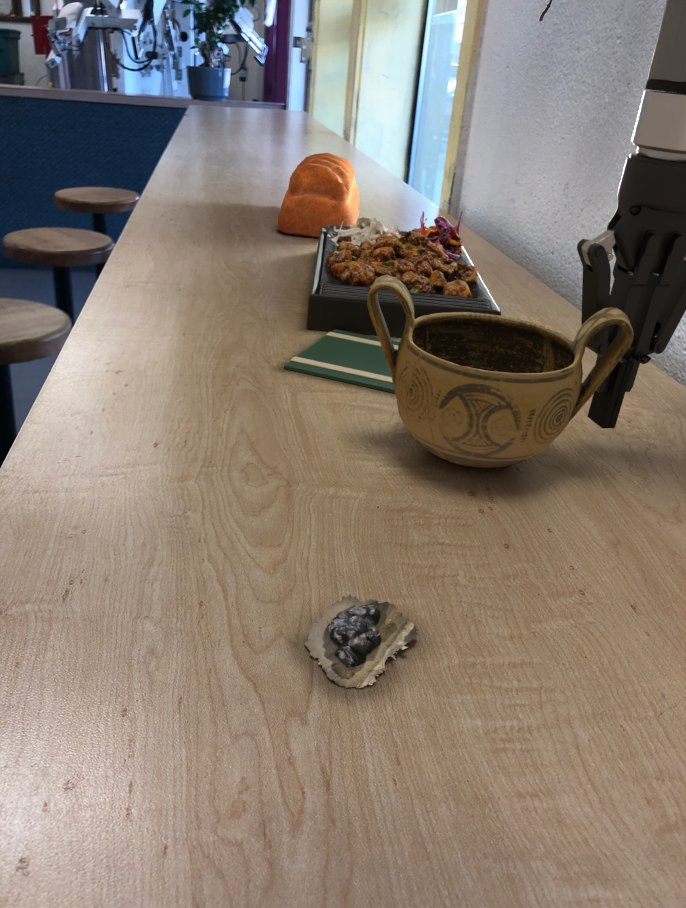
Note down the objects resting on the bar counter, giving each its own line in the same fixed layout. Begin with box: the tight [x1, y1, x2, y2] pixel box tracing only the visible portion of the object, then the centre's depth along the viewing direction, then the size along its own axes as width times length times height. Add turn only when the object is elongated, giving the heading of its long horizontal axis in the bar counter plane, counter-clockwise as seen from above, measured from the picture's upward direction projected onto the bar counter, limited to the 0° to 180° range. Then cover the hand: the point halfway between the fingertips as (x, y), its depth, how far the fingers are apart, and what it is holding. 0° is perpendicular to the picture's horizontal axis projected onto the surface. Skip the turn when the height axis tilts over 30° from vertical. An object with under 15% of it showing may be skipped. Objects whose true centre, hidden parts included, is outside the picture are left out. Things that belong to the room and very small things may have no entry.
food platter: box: [306, 209, 502, 339], centre depth 119 cm, size 45×25×10 cm, turn 178°
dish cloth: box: [283, 329, 400, 394], centre depth 93 cm, size 20×16×1 cm
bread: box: [276, 152, 361, 238], centre depth 161 cm, size 16×31×13 cm, turn 174°
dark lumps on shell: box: [304, 593, 419, 689], centre depth 48 cm, size 7×8×2 cm
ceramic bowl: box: [367, 275, 634, 469], centre depth 70 cm, size 22×17×15 cm
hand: (600, 422), depth 75 cm, fingers closed
